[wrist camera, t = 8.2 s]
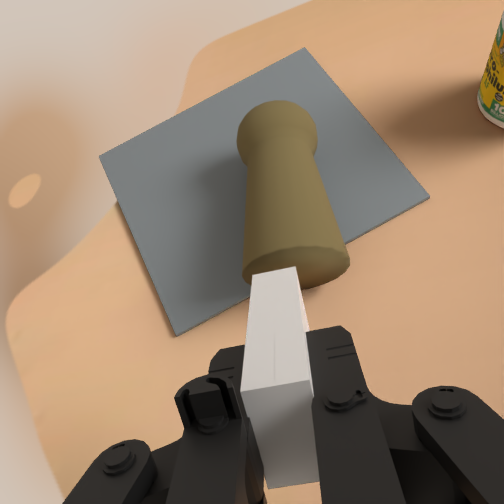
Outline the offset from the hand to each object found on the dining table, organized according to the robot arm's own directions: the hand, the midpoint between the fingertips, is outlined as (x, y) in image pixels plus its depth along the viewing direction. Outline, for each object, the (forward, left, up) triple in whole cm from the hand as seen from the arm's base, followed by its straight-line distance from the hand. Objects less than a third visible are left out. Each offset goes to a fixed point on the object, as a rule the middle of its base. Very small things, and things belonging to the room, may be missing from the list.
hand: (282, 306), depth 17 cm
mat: (-3, -14, -12) cm, 18 cm away
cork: (-2, -4, -9) cm, 10 cm away
